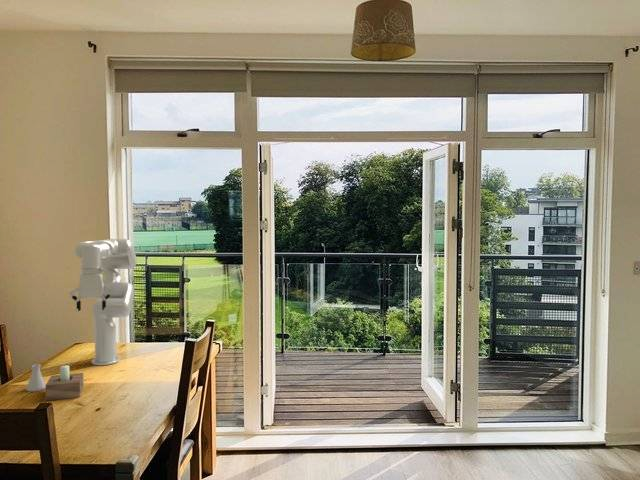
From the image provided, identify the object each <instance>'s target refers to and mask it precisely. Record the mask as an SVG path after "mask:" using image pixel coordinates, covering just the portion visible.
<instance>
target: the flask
mask: <svg viewBox="0 0 640 480" xmlns="http://www.w3.org/2000/svg"><path fill="white" fill-rule="evenodd" d="M41 366H42V364H38V363H37V364H33V365H31V366H30V367H31V368H32V369H31V375H30V378H29V380H28V383H27V385H26V388H25V391H27V392H34V393H35V392H39V391H44V390H46V384H47V383H46V382H45V380H44V378H43V375H42V373H41Z"/></svg>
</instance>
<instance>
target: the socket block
mask: <svg viewBox="0 0 640 480" xmlns="http://www.w3.org/2000/svg"><path fill="white" fill-rule="evenodd" d="M69 376H70V380H68V381H60V374H53V375H50V377H49V379H48V380H47V382H46V383H45V384H46V388H45V401H52V400H61V399H62V400H63V399H73V398H80V397H81V394H82V392H83V389H84V372H79V373H69Z"/></svg>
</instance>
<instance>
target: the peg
mask: <svg viewBox="0 0 640 480" xmlns="http://www.w3.org/2000/svg"><path fill="white" fill-rule="evenodd" d="M69 374H70V365H61V366H60V367H59V375H60V381H68V380H70V376H69Z"/></svg>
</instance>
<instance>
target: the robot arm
mask: <svg viewBox="0 0 640 480" xmlns="http://www.w3.org/2000/svg"><path fill="white" fill-rule="evenodd" d="M74 252H75V255H76V257H77V258H78V259H81V274H79V280H78V287H77V288H75V289H73V290H71V291H70V292H69V295H70V296H71V298H72V299H73V300H74V301H75V302H76V310H77V312H80V311H81V310H82V309H81V308H82V301H81V300H82V298H83V299H84V298H85V299H86V298H97V299H96V300H94V301H93V303H92V314H93V322H94V358H93V359H91V364H92V365H93V366H110V365H114V364H117V363H118V362H120V357H118V356H117V337H116V336H117V334H116V333H117V328H116V323H115V322H114V320H113V319H112V318H115V319H116V318H127V317H129V316H130V314H131V312H132V311H131V310H132V306H133V301H134V299H135V287H134V285H133V283H131V282H123V278H122V276H121V274H120V273H119V272H118V271H117V270H131V269H134V268H135V267H136V266H137V261H138V260H137V256H136V252H135V249H134V245H133V243H132V242H131V241H130V240H129V239H127V238H108V239H101V240H99V239H98V240H93V241H92V240H91V241H89V240H88V241H81V242H78V243H77V245H76V246H75V249H74ZM115 269H116V270H115ZM75 293H78V296H76V294H75Z"/></svg>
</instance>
